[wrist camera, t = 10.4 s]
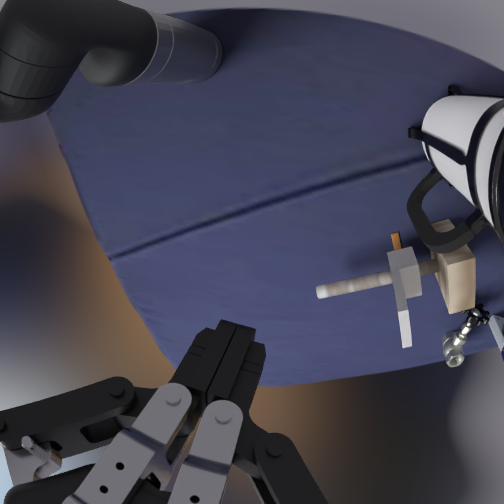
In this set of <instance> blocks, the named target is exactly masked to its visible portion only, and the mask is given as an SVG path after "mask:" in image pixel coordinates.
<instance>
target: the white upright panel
mask: <svg viewBox="0 0 504 504" xmlns="http://www.w3.org/2000/svg"><path fill="white" fill-rule="evenodd" d="M387 255H388V260H389V265H390V270H391V275H392V280H393V286H394V291H395V297H396V303H397V310H398V316H399V323H400V330H401V338H402V346H403V348H405V347H410V346H412V341H411V331H410V322H409V313H408V307H407V302H406V299H407V298H411V297H415V296H419V295H422V290H421V281H420V273H419V266H418V262H417V260H416V257H415V254H414V251H413V248H412V246H411V247H407V248H403V249H399V250H395V251H391V252H387Z"/></svg>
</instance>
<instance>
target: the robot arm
mask: <svg viewBox="0 0 504 504" xmlns="http://www.w3.org/2000/svg"><path fill="white" fill-rule="evenodd" d="M222 55H223V53H222V45H221V43H220V41H219V39H218V38H217V36H216V35H215V34H213V33H212V32H210V31H208V30H205V29H203V28H200V27H198V26H195V25H193V24H190V23H187V22H184V21H181V20H178V19H176V18H172V17H169V16H166V15H163V14H160V13H156V12H153V11H149V10H146V9H142V8H138V7H134V6H131V5H129V4H126V3H123V2H121V1H118V0H7V1H6V2H5V4H4V6H3V8H2V9H1V12H0V123H6V122H14V121H20V120H24V119H28V118H32V117H34V116H37V115H39V114H41V113H43V112H45V111H46V110H47V109H49V108H50V107H51V106H52V105H53V104H54V102H55V101H56V100H57V99H58V97H59V96H60V94H61V93H62V91H63V89H64V88H65V86H66V85H67V83H68V81H69V80H70V78H71V77H72V75H73V74H74V72H75V70H76V69H77V67H78V66H79V67H80V70H81V72H82V74H83V75H84V76H85V78H86V79H87V80H88V81H90V82H91V83H93V84H95V85H98V86H104V87H109V86H121V85H135V84H153V83H198V82H201V81H204V80H206V79H208V78H209V77H211V76H212V75H213V74H214V73H215V72H216V70H217V69H218V67H219V65H220V63H221V60H222ZM255 333H256V329H254V328H251V327H247V326H244V325H240V324H239V325H238V324H236V323H233V322H229V321H226V320H223V319H222V320H221V321H220V322H219V324H218V326H217V328H216V330H213V329H210V328H207V327H206V328H205V329H204V330H202V331H201V332H200V333H198V334H197V335H196V337H195V339H194V341H193V342H192V345H191V346H190V348H189V349H188V351H187V353H186V354H185V356H184V358H183V360H182V361H181V363H180V365H179V367H178V368H177V370H176V372H175V374H174V376H173V377H172V379H171V380H170V381H169V382H168V384H165V385H162V386H161V387H160V388H156V389H148V388H140V387H134V386H133V385H132V383H131V382H130V381H129V380H128V379H126V378H124V377H112V378H109V379H106V380H103V381H100V382H97V383H94V384H91V385H88V386H85V387H82V388H79V389H76V390H72V391H69V392H66V393H63V394H60V395H57V396H53V397H50V398H46V399H43V400H40V401H36V402H33V403H29V404H26V405H22V406H18V407H14V408H11V409H7V410H3V411H0V444H1V445H2V446H3V448H4V452H5V456H6V460H7V464H8V468H9V472H10V475H11V479H12V482H13V485H14V487H12V488H11V489H10V490H9V491H8V492H7V494H6V496H5V499H4V504H221V501H222V498H223V495H224V491H225V487H226V484H227V480H228V477H229V473H230V470H231V466H232V463H233V464H234V465H235V466H237V467H238V468H240V469H241V470H243V471H245V472H246V473H247V474H248V476H249V478H250V480H251V483H252V485H253V487H254V489H255V491H256V493H257V495H258V497H259V499H260V501H261V503H262V504H328V502H327V500H326V499H325V497H324V496H323V494H322V492H321V491H320V489H319V487H318V486H317V484H316V482H315V481H314V479H313V477H312V475H311V474H310V472H309V470H308V469H307V467H306V465H305V463H304V462H303V460H302V458H301V456H300V454H299V453H298V451H297V449H296V447H295V446H294V444H293V442H292V441H291V440H290V439H289V438H288V437H287V436H285V435H282V434H280V433H268V432H266V431H264V430H263V429H261V428H260V427H258V426H257V425H256V424H255V423H254V422H253V421H252V420H251V418H250V416H249V409H250V406H251V404H252V401H253V398H254V395H255V392H256V389H257V386H258V383H259V380H260V377H261V374H262V370H263V366H264V362H265V357H266V351H265V346H264V344H261V343H258V342H254V339H255ZM200 417H201V418H202V419H201V422H200V425H199V428H198V430H197V433H196V436H195V439H194V441H193V445H192V447H191V450H190V453H189V455H188V457H187V458H186V459H185V460H184V462H183V464H182V466H181V469H180V472H179V474H178V477H177V480H176V482H175V485H174V488H173V491H172V492H166V491H163V490H164V488H165V487H166V485H167V483H168V482H169V480H170V478H171V476H172V472H173V468H174V466H175V464H176V462H177V461H178V459H179V457H180V456H181V454H182V452H183V450H184V449H185V447H186V445H187V444H188V442H189V440H190V438H191V437H192V435H193V433H194V431H195V427H196V424H197V422H198V420H199V418H200ZM108 444H110V445H109V446H108V448H107V449H106V450H105V452H104V453H103V455H102V456H101V457H100V459H99V460H98V461H97V463H95V464H89V465H85V466H82V467H79V468H76V469H73V470H70V471H67V472H64V473H60V474H57V475H54V476H50V477H48V476H49V475H50V474H52V473H54V472H56V471H58V470H59V469H60V468H61V464H62V459H63V458H66V457H70V456H73V455H76V454H80V453H83V452H87V451H89V450H93V449H96V448H99V447H102V446H105V445H108Z"/></svg>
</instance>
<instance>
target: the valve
mask: <svg viewBox="0 0 504 504" xmlns="http://www.w3.org/2000/svg"><path fill="white" fill-rule="evenodd" d="M483 307H484V306H483V304H481V303H480V304H479V305H477V304H476V303H475V307H474V309H473V308H470V309H467V310H463V311H461V312H462V313H463V314H465V312H467V314H468V316H467V318H466V320H467V321H468V322H465V323H464V324H463V326H462V327H461V330H457V331H456V332H455V331H451V332H448V333H445V335H444V336H443V338H442V345H443V353H444V356H445V358H446V363H447V364H448V365H449V366H450V367H455V366H458V365H460V364H461V363H462V362H463V360H464V354H463V352H462V345H463V344H464V343H465V342H466V341H467V333H469V331H470V330H471V328H472V327H471V324H475V322H476V323H477V325H478V326H479V327H480V326H481V325H482V324H483V321H485V323H484V324H485V325H487V324H488V323H489V321H490V319H489V318H488V316H489V314H490V313H489V312H488V311H484V310H483ZM475 308H476V309H475ZM479 311H480V312H481V314H482V317H478V316H479V315H480V312H479Z"/></svg>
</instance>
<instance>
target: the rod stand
mask: <svg viewBox="0 0 504 504" xmlns="http://www.w3.org/2000/svg"><path fill="white" fill-rule="evenodd" d="M432 226H433V228H434V229H435V231H437V232H447V231H450V230H452V229H454V228H455V227H454V225H453V224H452V223H451V221H450V220H449V219H447V220H443V221H439V222H435V223H432ZM391 237H392V242H393V246H394V251H395V250H399V249H401V244H400V239H399V234H398V232H396V233H392V234H391ZM430 251H431V250H430ZM418 266H419V273H420V276H424V275H428V274H432V273H435V275H436V278H437V280H438V283H439V286H440V288H441V291H442V294H443V297H444V299H445V302H446V305H447V308H448V311H449V314H452V313H456V312H460V311H463V310H467V309H470V308H474V307H475V257H474V255H473V254H472V252H471V250H470V249H469V247H468V246H467V244H466V245H464V246H463V247H461V248H459V249H457V250H455V251H453V252H450V253H445V254H439V253H435V252H433V251H431V260H428V261H424V262H420V263H418ZM391 283H393V280H392V275H391V270H387V271H382V272H378V273H374V274H369V275H365V276H361V277H356V278H352V279H347V280H342V281H338V282H333V283H328V284H324V285H319V286H317V287H316V292H317V296H318V298H319V299H320V298H325V297H330V296H335V295H340V294H345V293H350V292H355V291H359V290H364V289H369V288H373V287H378V286H382V285H387V284H391Z"/></svg>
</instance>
